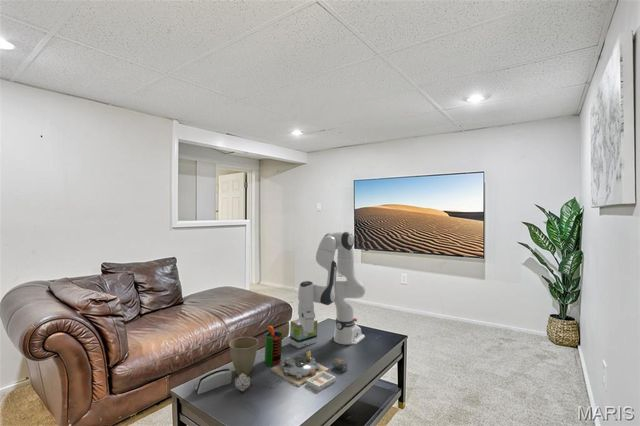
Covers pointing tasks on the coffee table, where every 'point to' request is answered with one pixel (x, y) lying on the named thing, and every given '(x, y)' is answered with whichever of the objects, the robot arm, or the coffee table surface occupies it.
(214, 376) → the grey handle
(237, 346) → the plant pot
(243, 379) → the game die
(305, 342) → the tea box
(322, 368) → the sprocket base
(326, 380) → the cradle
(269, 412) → the coffee table surface
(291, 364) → the sprocket
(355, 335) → the robot arm
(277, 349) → the motor
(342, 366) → the gray banded block
